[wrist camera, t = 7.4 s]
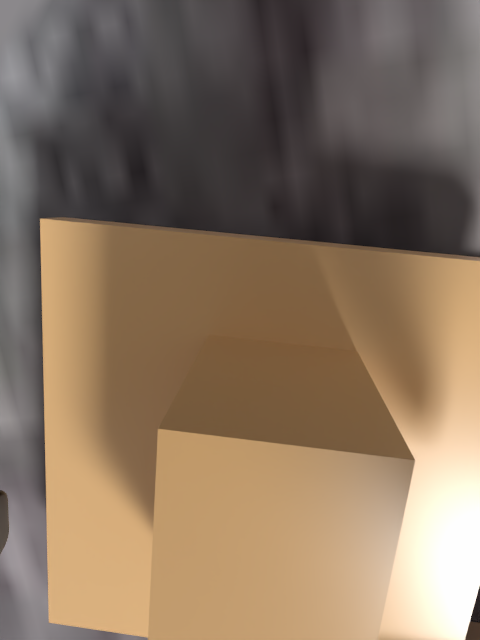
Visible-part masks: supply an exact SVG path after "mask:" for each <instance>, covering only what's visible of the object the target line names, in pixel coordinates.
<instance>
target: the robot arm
mask: <svg viewBox="0 0 480 640" xmlns="http://www.w3.org/2000/svg"><path fill="white" fill-rule="evenodd" d="M8 534H9V519H8V499H7V495H6V493H5V492H4V491H2V490H0V554H1V552H2V550H3V548H4V546H5V544H6V541H7V538H8Z"/></svg>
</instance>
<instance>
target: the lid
mask: <svg viewBox="0 0 480 640" xmlns="http://www.w3.org/2000/svg"><path fill="white" fill-rule="evenodd" d="M40 241H41V286H42V331H43V376H44V422H45V467H46V512H47V557H48V602H49V623H55V624H62V625H69V626H75V627H82V628H89V629H95V630H102V631H108V632H115V633H122V634H128V635H135V636H142V637H148V640H465V637H466V634H467V630H468V626H469V623H470V619H471V615H472V612H473V608H474V604H475V601H476V597H477V593H478V590H479V586H480V257H471V256H461V255H451V254H440V253H430V252H420V251H409V250H399V249H388V248H378V247H368V246H357V245H347V244H337V243H326V242H316V241H306V240H295V239H285V238H274V237H264V236H254V235H243V234H233V233H223V232H212V231H202V230H191V229H181V228H171V227H160V226H150V225H140V224H129V223H119V222H109V221H98V220H88V219H77V218H67V217H57V218H40Z"/></svg>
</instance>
